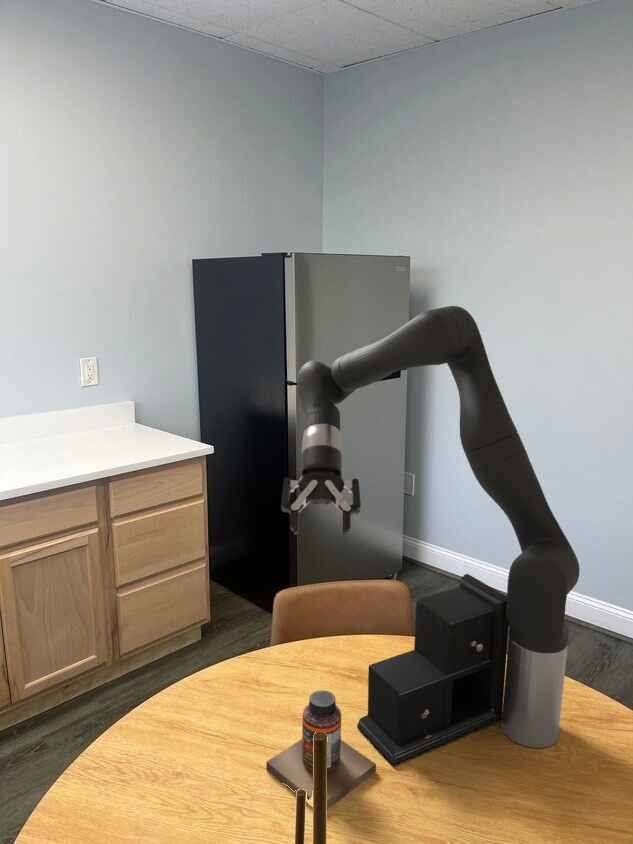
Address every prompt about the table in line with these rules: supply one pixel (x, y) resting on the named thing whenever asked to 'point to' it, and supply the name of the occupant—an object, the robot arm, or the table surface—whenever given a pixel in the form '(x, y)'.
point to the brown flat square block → (339, 781)
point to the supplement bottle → (321, 728)
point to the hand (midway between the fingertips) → (320, 533)
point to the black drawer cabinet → (441, 674)
